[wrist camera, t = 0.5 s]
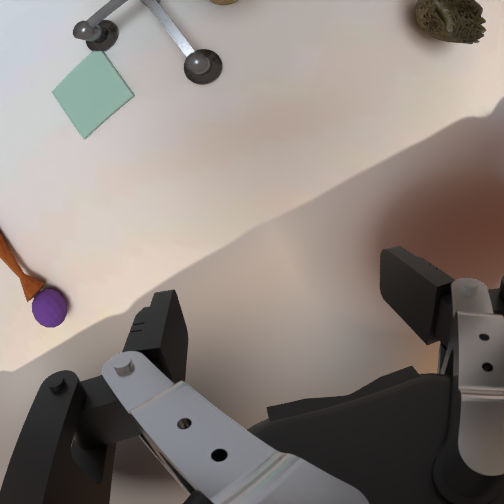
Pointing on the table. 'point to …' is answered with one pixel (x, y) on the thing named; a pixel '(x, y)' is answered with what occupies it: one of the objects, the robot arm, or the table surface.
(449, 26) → the dark brown scalloped piece
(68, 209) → the table surface
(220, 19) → the table surface
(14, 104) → the table surface
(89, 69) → the pad
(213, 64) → the grey jointed rod frame
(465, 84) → the table surface
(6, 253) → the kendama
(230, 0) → the sprinkles bottle
